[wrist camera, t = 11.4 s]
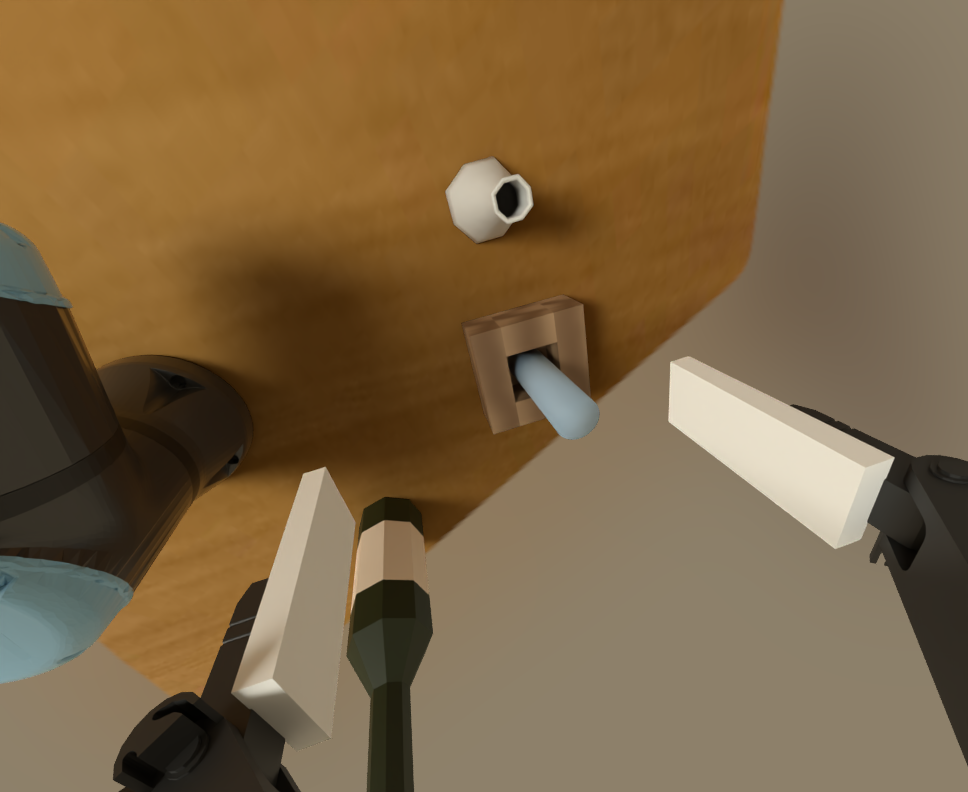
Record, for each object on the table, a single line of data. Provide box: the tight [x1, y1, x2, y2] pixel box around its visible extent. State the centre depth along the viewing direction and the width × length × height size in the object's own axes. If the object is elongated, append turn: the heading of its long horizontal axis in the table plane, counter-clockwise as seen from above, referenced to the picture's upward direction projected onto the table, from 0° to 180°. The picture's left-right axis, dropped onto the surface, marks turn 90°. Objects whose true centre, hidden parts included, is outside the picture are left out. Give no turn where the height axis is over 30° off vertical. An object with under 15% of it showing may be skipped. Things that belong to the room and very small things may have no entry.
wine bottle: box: [347, 497, 433, 792], centre depth 38 cm, size 8×8×30 cm
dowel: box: [508, 348, 599, 440], centre depth 37 cm, size 4×4×14 cm
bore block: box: [462, 295, 591, 434], centre depth 42 cm, size 12×12×5 cm
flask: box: [445, 156, 534, 244], centre depth 32 cm, size 7×7×10 cm
